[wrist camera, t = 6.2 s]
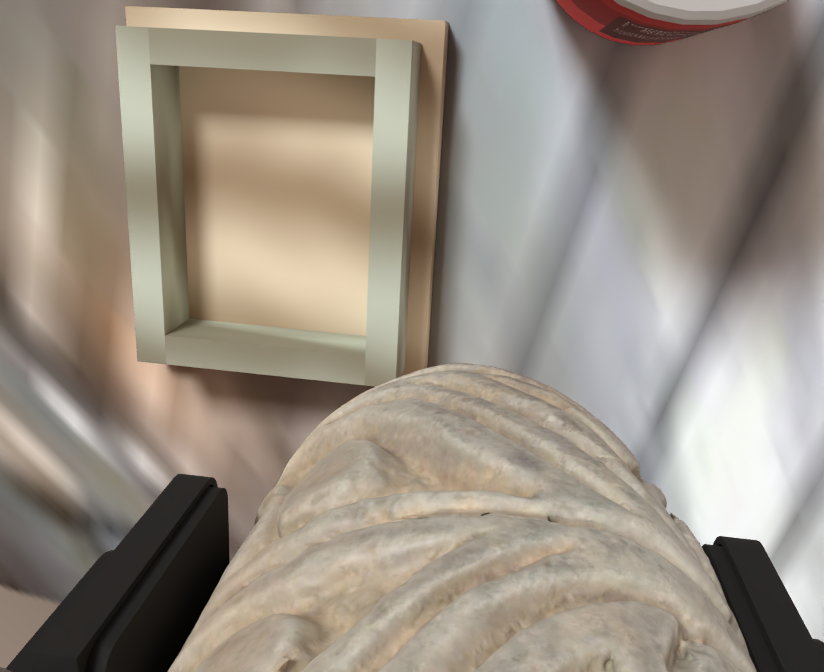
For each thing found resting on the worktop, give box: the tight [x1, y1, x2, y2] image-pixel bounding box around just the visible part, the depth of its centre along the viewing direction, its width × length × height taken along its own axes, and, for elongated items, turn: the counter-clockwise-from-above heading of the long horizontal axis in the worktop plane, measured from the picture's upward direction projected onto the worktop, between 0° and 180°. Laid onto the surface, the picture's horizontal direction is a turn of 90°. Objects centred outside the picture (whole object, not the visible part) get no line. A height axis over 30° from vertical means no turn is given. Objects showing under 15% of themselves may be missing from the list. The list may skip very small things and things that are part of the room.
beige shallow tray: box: [115, 6, 449, 387], centre depth 29 cm, size 14×12×4 cm
